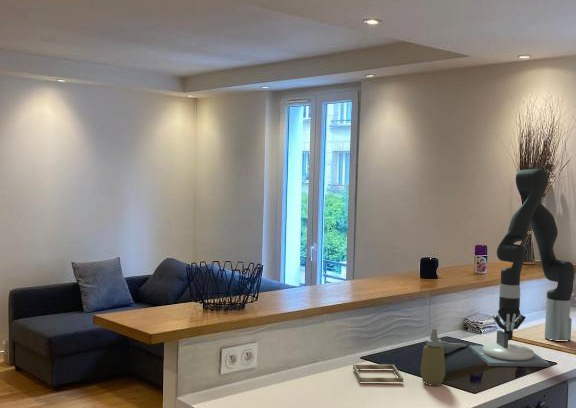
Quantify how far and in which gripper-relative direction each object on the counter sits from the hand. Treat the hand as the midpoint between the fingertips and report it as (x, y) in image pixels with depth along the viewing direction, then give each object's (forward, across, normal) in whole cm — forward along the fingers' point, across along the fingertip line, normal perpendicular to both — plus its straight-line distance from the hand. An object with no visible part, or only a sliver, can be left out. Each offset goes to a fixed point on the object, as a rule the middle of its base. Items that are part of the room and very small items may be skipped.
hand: (508, 339), depth 254 cm
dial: (+3, +3, +7) cm, 8 cm away
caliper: (+5, +22, -2) cm, 23 cm away
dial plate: (+4, +4, +7) cm, 9 cm away
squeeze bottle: (+4, +42, +35) cm, 55 cm away
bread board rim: (+4, +59, +28) cm, 65 cm away
